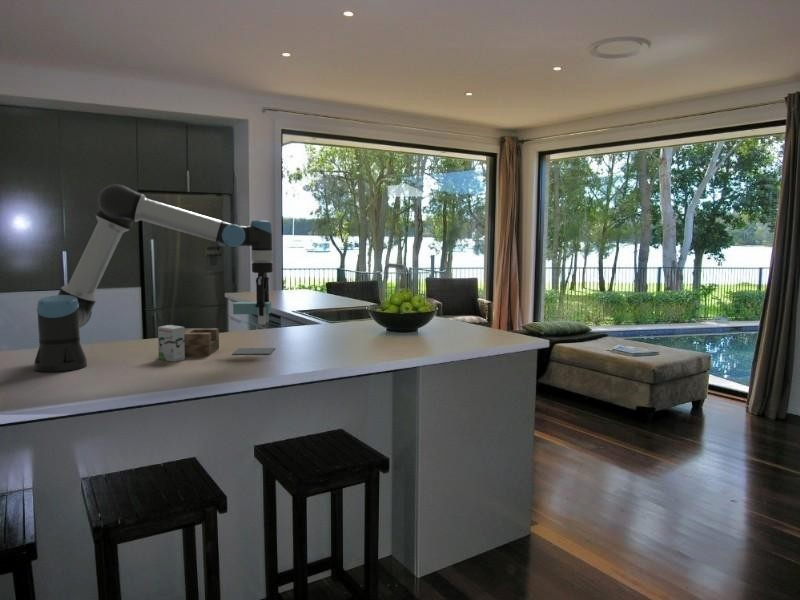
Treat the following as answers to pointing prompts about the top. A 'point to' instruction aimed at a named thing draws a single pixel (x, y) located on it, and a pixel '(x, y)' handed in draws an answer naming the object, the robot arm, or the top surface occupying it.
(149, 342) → the top surface
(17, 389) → the top surface
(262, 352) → the mat
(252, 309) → the slab
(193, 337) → the block
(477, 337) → the top surface
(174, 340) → the ink box
